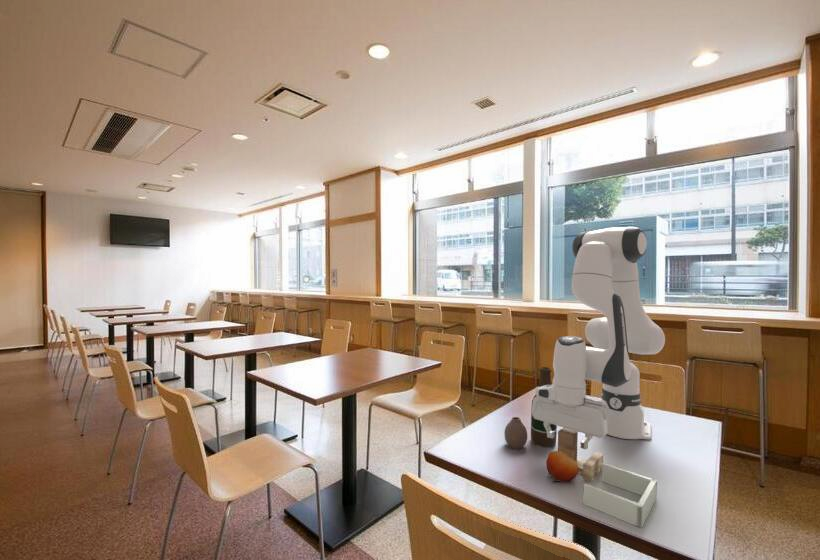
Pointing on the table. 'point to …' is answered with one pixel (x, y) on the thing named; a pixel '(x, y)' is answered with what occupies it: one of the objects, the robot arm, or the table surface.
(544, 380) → the beer bottle
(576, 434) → the angled wooden block structure
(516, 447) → the vase
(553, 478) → the fruit
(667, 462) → the table surface
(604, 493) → the tray
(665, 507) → the table surface
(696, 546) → the table surface
